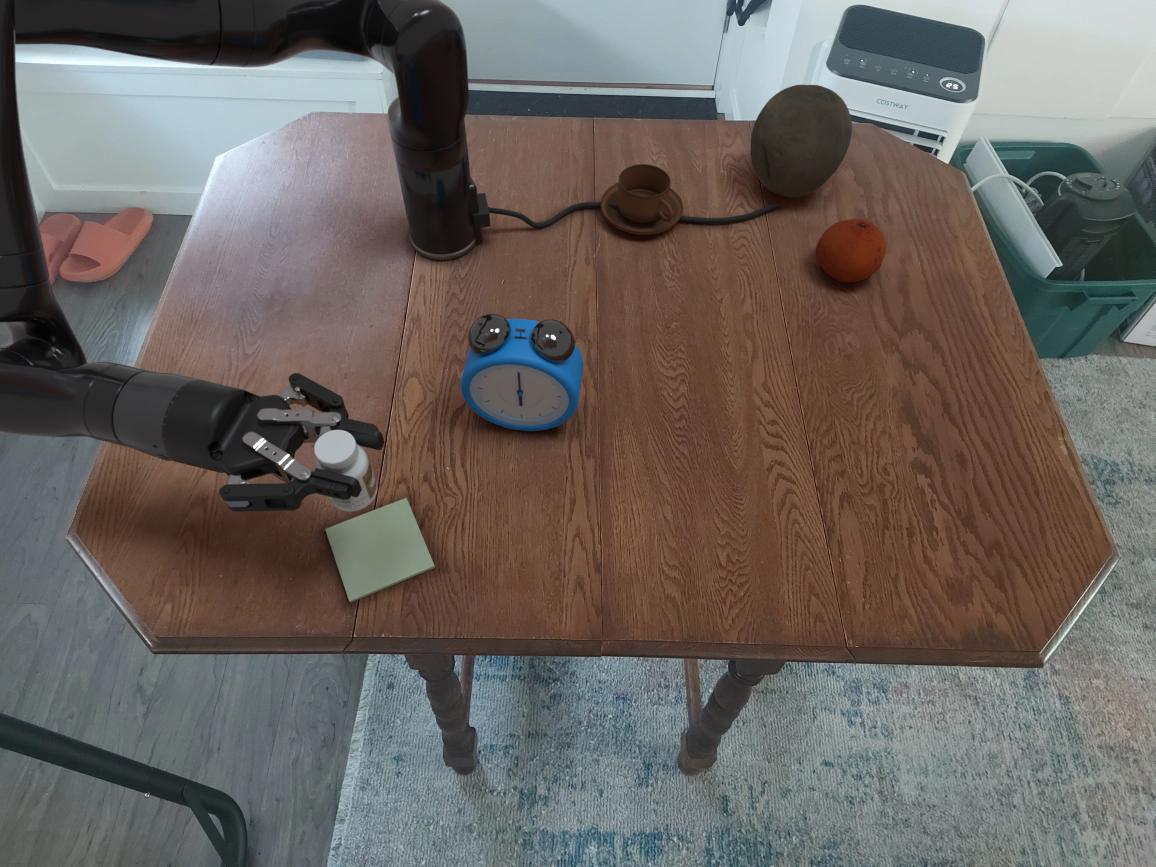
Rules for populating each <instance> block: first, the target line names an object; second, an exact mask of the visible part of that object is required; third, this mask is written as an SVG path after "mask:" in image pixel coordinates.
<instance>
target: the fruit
mask: <svg viewBox="0 0 1156 867" xmlns="http://www.w3.org/2000/svg"><path fill="white" fill-rule="evenodd" d="M886 253H887V242H886V239H885V237H884V234H883V233H882V231H881V229H879V227H878V226H876V224H874V223H873V222H871V221H869V220H866V219H861V218H852V219H844V220H839V221H837V222H835V223H833V224H832V225H830V226H829V227H828V228H827V229H826V230H825V231H824V232H823V233H822V234H821V236H820V238H819V239H818V241H817V243H816V246H815V257H816V259H817V262H818V264H819V267H821V269H822V270H823V271H824V272H825V273H826V274H827V275H828V276H829V277H831V278H833V279H834V280H836V281H838V282H841V283H854V282H855V283H856V282H860V281H863V280H866V279H868V278H870V277H871V276H873V275H874V274H876V272H878V271H879V270H880V268H881V267H882V265H883V261H884V258H885V256H886Z"/></svg>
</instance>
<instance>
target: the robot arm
mask: <svg viewBox="0 0 1156 867" xmlns="http://www.w3.org/2000/svg"><path fill="white" fill-rule="evenodd" d="M16 45H60V46H61V45H63V46H64V45H65V46H75V47H76V46H77V47H85V48H91V49H98V50H101V51H107V52H113V53H118V54H123V55H129V56H135V57H141V58H146V59H152V60H159V61H164V62H165V61H166V62H172V63H181V64H188V65H189V64H190V65H197V66H200V65H201V66H210V67H212V66H213V67H226V68H227V67H228V68H229V67H230V68H262V67H267V66H271V65H276V64H278V63H281V62H284V61H287V60H290V59H292V58H295V57H297V56H299V55H302V54H305V53H309V52H318V51H324V52H325V51H327V52H335V53H343V54H351V55H356V56H359V57H365V58H368V59H372V60H373V61H375V62H378V63H379V64H381V65H382V66H383V68H385V69H387V70H388V71H389V72H390V73H391V74H392V75H394V78H395V84H396V89H397V91H396V92H397V97H396V98H395V99H393V101H391V103H390V104H389V106H388V109H387V116H386V117H387V123H388V124H387V125H388V129H389V130H388V131H389V134H390V138H391V144H392V149H393V154H394V159H395V164H396V169H397V174H398V179H399V185H400V190H401V194H402V200H403V205H404V210H405V215H406V220H407V225H408V231H409V238H410V244H411V246H412V248H413V250H414V251H415V252H416V253H417V254H419V255H420V256H422V257H424V258H427V259H430V260H434V261H449V260H455V259H458V258H460V257H463V256H464V255H466V254H468V253H469V252H470V251H472V249H473V248H474V247H475V246H476V245H478V244H482V242H483V236H482V228H489V227H491V218H490V214H495V215H502V216H508V217H513V218H516V219H520V220H521V221H523V222H524V223H525V224H527V225H528V226H530V227H532V228H534V229H543V228H546V227H549V226H551V225H553V224H555V223H556V222H558V221H560V220H561V219H562V218H564V217H565V216H567V215H568V214H570V213H572V212H575V211H577V210H580V209H587V208H596V209H597V208H598V209H599V208H600V209H601V201H587V202H578V203H575V204H572V205H570V206H568V207H566V208H565V209H563V210H562V211H560V212H559V213H558V214H556V215H555V216H553V217H552V218H549V219H548V220H545V221H542V222H541V221H540V222H539V221H538V222H535V221H533V220H532V219H531V218H530V217H528V216H526V215H525V214H523V213H522V212H519V211H518V212H517V211H514V210H509V209H505V208H504V209H503V208H496V207H491V206H489V204H488V200H487V194H486V193H485V192H479V193H478V186H477V184H476V183H475V181H474V180H473V178H472V176H471V167H470V159H469V148H468V140H467V129H466V122H465V120H466V119H465V118H466V115H467V112H468V109H469V108H468V107H469V102H470V92H469V91H470V88H469V71H468V70H469V68H468V67H469V66H468V50H467V42H466V37H465V32H464V28H463V25H462V23H461V20H460V18H459V17H458V15H457V13H456V12H455V11H454V10H453V9H452V8H451V7H450V6H449V5H447V4H445V3H444V2H443V1H441V0H0V324H4V326H5V327H6V329H7V330H8V333H9V334H10V337H11V338H10V339H11V342H7V343H5V344H1V345H0V433H1V434H2V433H3V434H7V435H15V436H27V437H51V438H52V437H54V438H70V437H71V438H72V437H74V438H75V437H76V438H77V437H79V438H80V437H82V438H83V437H86V438H91V439H94V440H97V441H100V442H101V441H102V442H106V443H110V444H113V445H118V446H122V447H126V448H129V449H133V450H136V451H139V452H141V453H143V454H145V455H148V456H151V457H154V458H158V459H160V460H162V461H165V462H174V463H179V464H182V465H187V466H192V467H195V468H200V469H203V470H207V471H210V472H211V471H212V472H214V473H215V472H216V473H220V474H222V473H223V474H226V475H227V477H228V479H227V484H224V485H222V486H221V487H220V488H219V490H218V494H219V496H220V497H221V499H222V500H223V502H224V503H225V504H226V506H227V507H228V509H229V510H230V511H231V512H235V513H239V512H274V511H275V512H278V511H279V512H281V511H283V512H284V511H285V512H286V511H287V512H288V511H297V510H299V509H300V508H301V506H302V503H303V500H305V499H306V498H307V497H308V496H309V495H313V494H317V495H321V496H325V497H328V498H329V497H333V498H337V499H341V500H348V499H350V497H351V496H352V497H358V496H359V494H360V492H361V490H362V488H361V486H360V483H359V481H358V480H357V479H356V478H354V477H351V476H346V475H342V474H338V473H334V472H330V471H326V470H322V469H317V468H316V467H315V469H314V471H312V470H311V468H309V466H306V465H304V464H303V463H301V462H299V461H298V460H296V459H295V456H296V452H297V451H298V450H299V449H300V448H301V447H302V446H303V444H315V443H316V441H317V440H318V439H319V437H320V436H322V435H323V434H325V433H326V432H329V431H332V430H344V431H347V432H348V433H350V434H351V435H352V436H353V437H354V439H355V441H356V444H358V445H359V446H361V447H362V448H363V447H364V448H368V449H370V450H371V449H372V450H376V451H382V450H383V448H384V445H385V442H386V441H385V438H384V435H383V433H382V431H380V430H379V427H378V426H377V425H375V424H373V423H369V422H365V421H362V420H361V421H360V420H358V419H357V420H356V419H352V418H349V417H350V415H349V412H348V410H347V407H346V405H345V401H344V398H343V396H341V395H340V394H338V393H336V392H334V391H333V390H331V389H329V388H327V387H325V386H323V385H321V384H319V383H318V382H316V381H314V380H312V379H311V378H309V377H307V376H305V375H303V374H301V373H299V372H293V373H292V374H290V375H289V377H288V382H289V385H288V386H286V387H285V389H283V390H282V391H281V392H280V393H278V394H269V395H257V394H255V393H253V392H251V391H248V390H247V389H243V388H238V387H234V386H230V385H225V384H221V383H218V382H217V383H216V382H213V381H208V380H204V379H200V378H194V377H191V376H187V375H182V374H176V373H170V372H158V371H154V370H153V371H151V370H149V369H148V370H147V369H144V368H139V367H135V366H131V365H126V364H122V363H116V362H111V361H95V362H88V360H87V357H86V353H85V352H84V350H83V348H82V346H81V343H80V342H79V339H78V338H77V337H76V334H75V333H74V330H73V328H72V327H71V325H70V323H69V320H68V318H67V316H66V315H65V312H64V311H63V309H62V307H61V305H60V304H59V302H58V300H57V298H56V296H55V294H54V292H53V290H52V284H51V278H50V273H49V268H48V264H47V257H46V253H45V248H44V242H43V237H42V233H41V229H40V224H39V219H38V215H37V210H36V205H35V201H34V196H33V192H32V186H31V182H30V177H29V172H28V167H27V161H26V157H25V150H24V144H23V139H22V138H23V136H22V128H21V122H20V111H19V102H18V89H17V88H18V87H17V62H16V61H17V60H16V57H17V56H16ZM608 206H610V207H611V208H614V209H616V210H619V209H618V206H617V205H615V204H608ZM776 209H778V204H777V203H772V204H769V205H766V206H764V207H761V208H759V209H756V210H754V211H752V212H748V213H745V214H741V215H735V216H727V217H698V216H687V215H681V217H680V219H679V221H678V222H682V223H683V222H684V223H692V224H693V223H694V224H695V223H696V224H711V225H713V224H728V223H729V224H730V223H735V222H736V223H737V222H742V221H745V220H749V219H752V218H755V217H757V216H760V215H762V214H765V213H768V212H771V211H773V210H776ZM619 211H620V210H619ZM663 215H664V216H666V217H668V216H669V214H665V213H664V214H663ZM673 217H675V215H673ZM673 217H672V218H673ZM659 218H661V217H659ZM291 405H299V406H301V407H303V408H302V409H297V408H296V409H292V407H291ZM307 405H308V406H309V407H312V408H313V409H315V410H317V411H319V412H317V411H314V410H312V409H310V408H305V409H304V407H307ZM267 475H272V476H274V477H275V478H277V479H279V481H280V480H281V481H282V483H281V482H279V483H277V482H276V483H273V482H272V483H252V481H250V480H254V479H256V478H259V477H260V478H261V477H263V476H267ZM283 482H284V483H283Z"/></svg>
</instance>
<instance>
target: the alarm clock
mask: <svg viewBox="0 0 1156 867" xmlns="http://www.w3.org/2000/svg"><path fill="white" fill-rule="evenodd" d="M467 343H468V347H469V348H468V351H467V356H466V359H465V363H464V368H463V372H462V375H461V378H460V393H461V394H462V397H463V399H464V401H465V402H466V404H467V405H468V407H469V408H470V409H471V410H472V411H473V412H474V413H476V414H477V415H478V416H480V417H481V418H483V419H484V420H485V421H488V422H490V423H491V424H492V425H497V426H498V427H502V428H506V429H509V430H515V431H522V432H538V431H546V430H549V431H552V430H553V428H557V427H559V426H561V425H563V424H565V423H566V422H567V421H568V420H570V419H571V418H572V417H573V416H574V414H575V413H576V411H577V409H578V407H579V403H580V402H579V400H580V394H581V388H582V387H581V386H582V381H583V380H582V379H583V372H584V359H583V355H582V352H581V350H580V349H579V347H578V345H577V344H576V340H575V335H574V334H573V332H572V331H571V329H570V327H568V326H567V325H566V324H565V323H563V322H562V321H560V320H558V319H557V320H556V319H550V318H549V319H544V320H541V321H537V320H533V319H527V318H507V319H506V318H505V317H504V316H503V315H501V314H497V313H488V314H484V315H481V316H480V317H478V318H476V320H475V321H474V322H473V323H472V324H471V326H470V327H469V329H468V332H467Z"/></svg>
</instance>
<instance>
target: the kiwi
mask: <svg viewBox="0 0 1156 867" xmlns="http://www.w3.org/2000/svg"><path fill="white" fill-rule="evenodd" d="M852 134H853V120H852V115H851V113H850V110H849V107H848V106H847V104H846V102H845V100H844V99H843V98H842V96H840V95H839V94H838V93H836V92H835V91H834V90H832V89H831V88H829V87H825V86H822V85H818V84H795V85H791V86H789V87H785V88H783V89H781V90H780V91H778V92H777V93H775V94H774V95H772V96H771V98H770V99H769V100H768V101H767V102H766V103H765V105H763V107H762V109H761V110H760V112H759V114H758V115H757V116H756V120H755V121H754V124H753V128H752V132H751V136H750V152H749V153H750V161H751V165H752V169H753V171H754V174H755V175H756V177H757V179H758V180H759V181H760V183H761V184H762V185H763V187H765V188H766V190H769V191H770V192H772V193H774V194H777V195H779V196H782V197H787V198H792V199H793V198H801V197H804V196H807V195H808V194H811V193H812V192H814V191H816V190H817V189H819V188H821V187H822V186H823V185H824V184H826V182H827V181H829V179H831V177H832V176H833V175H834V174H835V173H836V172H837V170H838V169H839V168H840V166H841V165H842V162H843V161H844V159H845V157H846V155H847V152H848V150H849V147H850V143H851V140H852V136H853V135H852Z"/></svg>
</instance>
